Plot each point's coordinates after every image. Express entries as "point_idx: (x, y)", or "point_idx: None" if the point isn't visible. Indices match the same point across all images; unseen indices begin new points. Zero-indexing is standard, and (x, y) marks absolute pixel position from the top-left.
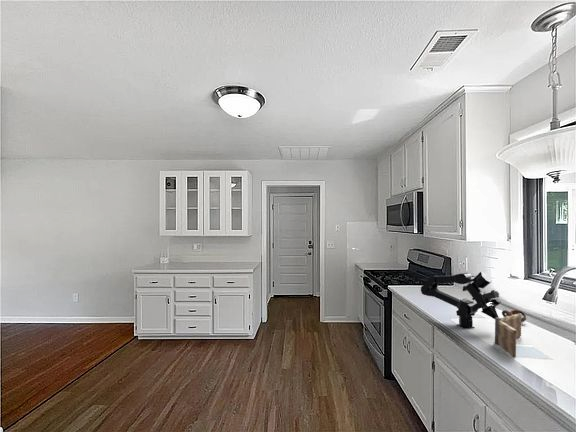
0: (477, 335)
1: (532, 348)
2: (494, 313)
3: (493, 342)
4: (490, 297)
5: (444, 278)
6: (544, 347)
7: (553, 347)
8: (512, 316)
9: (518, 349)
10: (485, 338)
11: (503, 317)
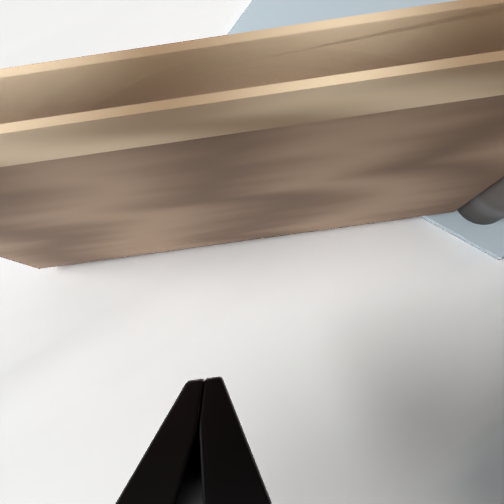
0: (445, 497)
1: (270, 27)
2: (247, 499)
3: (488, 243)
4: None
5: None
6: (130, 27)
7: (61, 6)
8: (158, 49)
9: None
10: (440, 379)
11: (484, 55)
